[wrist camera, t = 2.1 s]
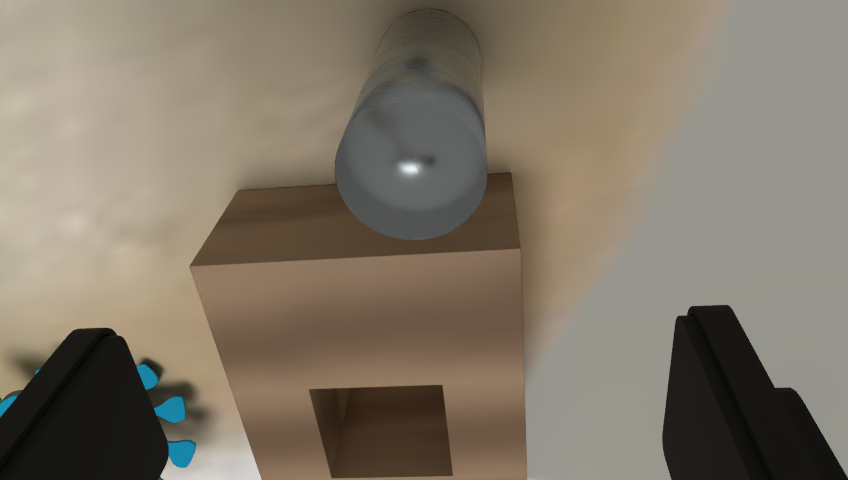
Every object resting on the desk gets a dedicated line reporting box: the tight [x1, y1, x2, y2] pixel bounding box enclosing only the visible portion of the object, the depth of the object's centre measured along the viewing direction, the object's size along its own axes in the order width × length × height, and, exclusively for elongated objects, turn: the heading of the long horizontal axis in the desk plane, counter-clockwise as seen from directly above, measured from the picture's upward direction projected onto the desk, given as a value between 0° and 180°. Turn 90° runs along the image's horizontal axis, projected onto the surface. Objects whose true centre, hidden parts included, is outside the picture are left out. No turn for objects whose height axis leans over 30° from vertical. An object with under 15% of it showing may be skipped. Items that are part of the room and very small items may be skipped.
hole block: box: [189, 173, 527, 480], centre depth 31 cm, size 18×12×6 cm, turn 6°
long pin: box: [335, 9, 487, 240], centre depth 22 cm, size 4×4×10 cm
